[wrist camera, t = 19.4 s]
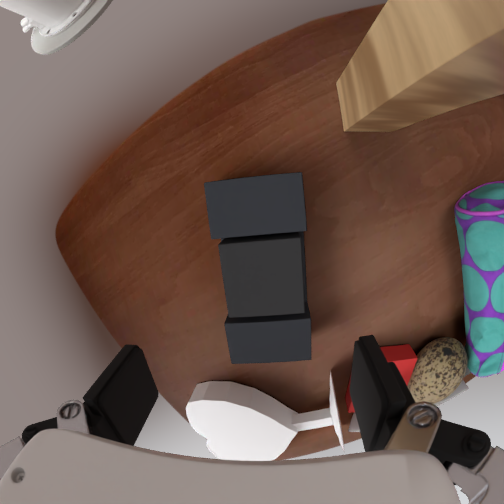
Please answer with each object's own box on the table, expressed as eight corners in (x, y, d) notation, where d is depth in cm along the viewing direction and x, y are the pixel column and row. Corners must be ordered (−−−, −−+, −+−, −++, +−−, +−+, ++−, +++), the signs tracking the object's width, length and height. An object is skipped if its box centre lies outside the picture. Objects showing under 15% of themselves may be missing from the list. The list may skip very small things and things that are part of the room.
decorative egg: (442, 318, 27) (405, 375, 31) (426, 335, 23) (381, 398, 26) (482, 347, 22) (439, 403, 25) (474, 372, 18) (420, 431, 21)
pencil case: (496, 322, 25) (534, 356, 16) (452, 352, 27) (486, 395, 17) (484, 175, 21) (542, 180, 12) (431, 199, 23) (492, 211, 13)
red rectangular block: (356, 348, 27) (368, 386, 21) (409, 344, 27) (429, 377, 21) (345, 397, 30) (352, 434, 24) (392, 391, 29) (405, 425, 23)
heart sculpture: (327, 357, 28) (185, 379, 32) (332, 386, 23) (172, 405, 27) (342, 432, 31) (227, 446, 35) (345, 458, 27) (220, 470, 30)
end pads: (237, 340, 29) (231, 363, 24) (215, 182, 25) (203, 182, 20) (307, 336, 28) (311, 359, 24) (297, 173, 24) (302, 172, 20)
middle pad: (234, 301, 27) (228, 318, 23) (225, 235, 25) (217, 244, 22) (301, 296, 26) (304, 313, 22) (297, 229, 24) (301, 237, 21)
